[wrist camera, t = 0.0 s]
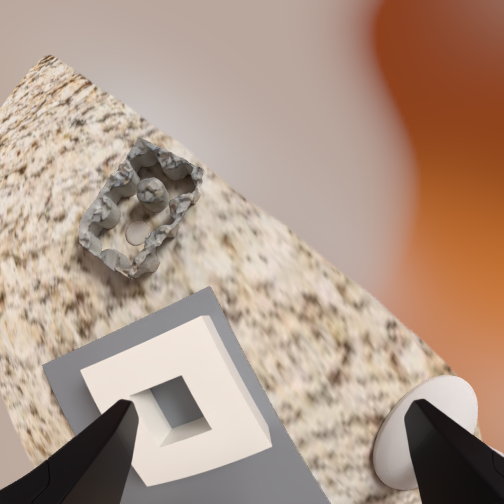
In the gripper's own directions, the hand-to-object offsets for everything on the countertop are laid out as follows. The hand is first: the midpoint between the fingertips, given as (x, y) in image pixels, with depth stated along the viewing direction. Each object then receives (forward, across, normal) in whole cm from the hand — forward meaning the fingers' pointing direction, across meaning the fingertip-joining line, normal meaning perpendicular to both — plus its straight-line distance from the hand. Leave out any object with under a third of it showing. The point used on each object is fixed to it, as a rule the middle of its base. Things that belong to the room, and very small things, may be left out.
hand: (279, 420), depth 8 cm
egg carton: (+19, +10, -1) cm, 22 cm away
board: (+7, +6, +16) cm, 19 cm away
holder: (+10, +6, +11) cm, 16 cm away
